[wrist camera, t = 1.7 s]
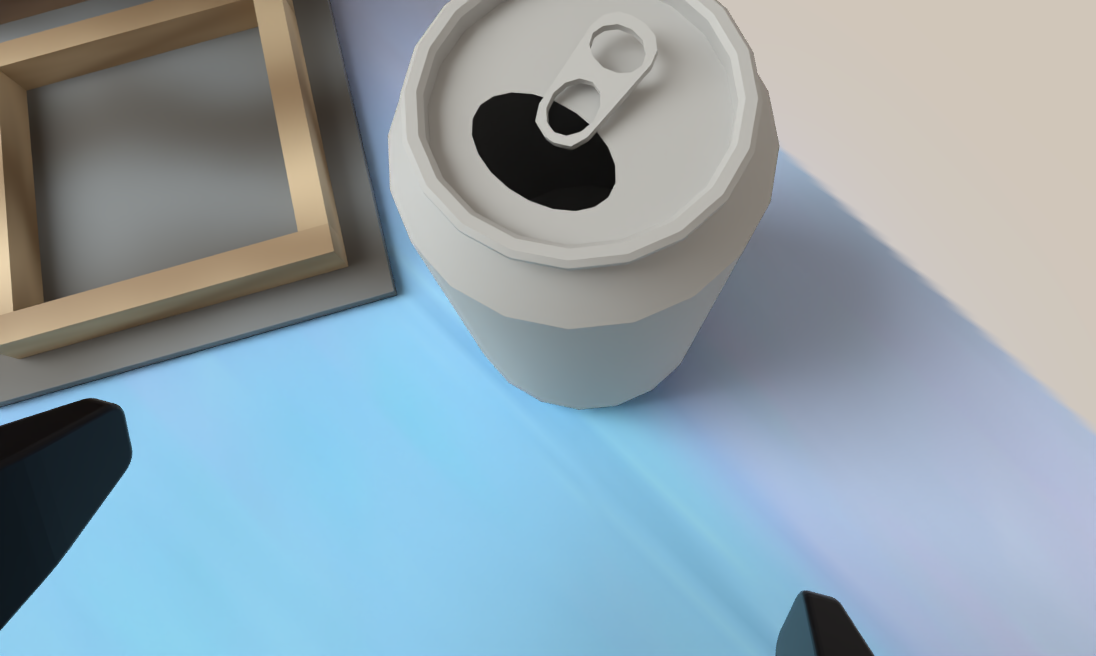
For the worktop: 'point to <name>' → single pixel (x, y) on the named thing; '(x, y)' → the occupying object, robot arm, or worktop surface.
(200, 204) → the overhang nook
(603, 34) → the can
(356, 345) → the worktop surface
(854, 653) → the robot arm
